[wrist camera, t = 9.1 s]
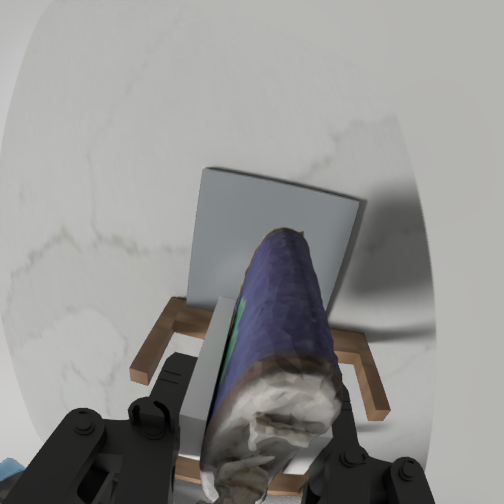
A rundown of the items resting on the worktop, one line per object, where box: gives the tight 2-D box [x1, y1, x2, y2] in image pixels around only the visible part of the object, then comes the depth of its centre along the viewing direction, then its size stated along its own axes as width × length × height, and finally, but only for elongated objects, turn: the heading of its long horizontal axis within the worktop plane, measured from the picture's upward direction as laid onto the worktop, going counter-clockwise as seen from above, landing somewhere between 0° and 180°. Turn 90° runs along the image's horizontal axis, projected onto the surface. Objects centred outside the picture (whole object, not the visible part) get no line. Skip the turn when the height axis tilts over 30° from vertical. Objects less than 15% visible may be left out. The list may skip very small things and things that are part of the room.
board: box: [186, 168, 360, 316], centre depth 22 cm, size 11×11×1 cm
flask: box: [196, 227, 343, 504], centre depth 10 cm, size 9×3×11 cm, turn 167°
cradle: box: [129, 297, 391, 496], centre depth 23 cm, size 17×16×10 cm
